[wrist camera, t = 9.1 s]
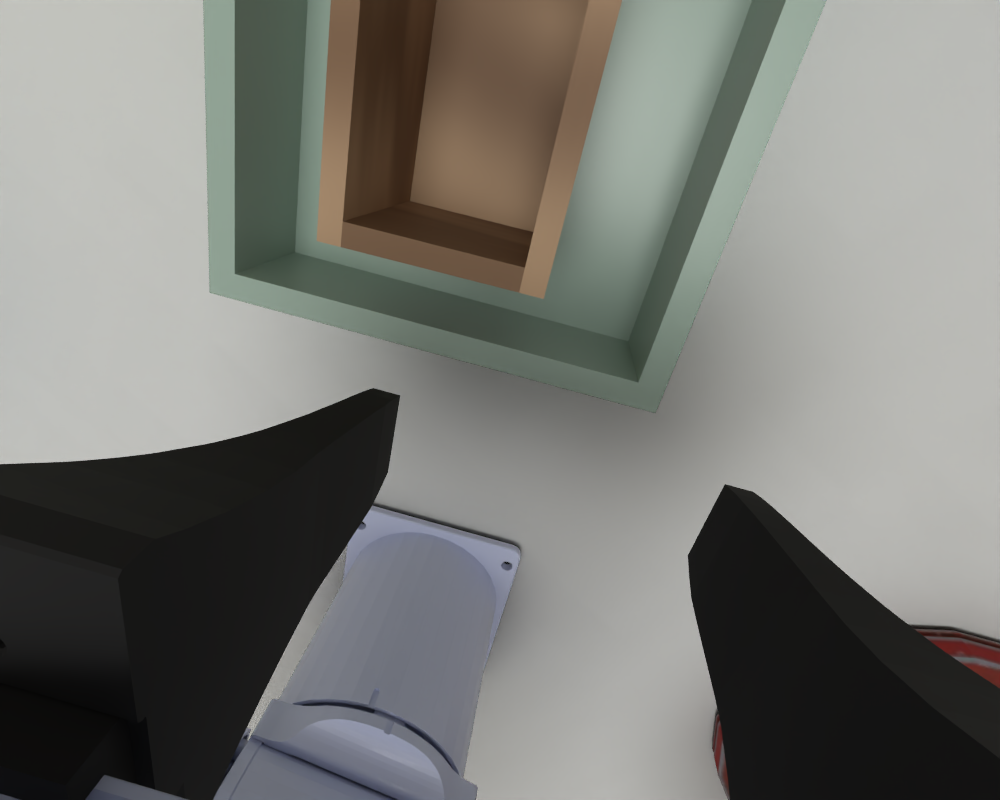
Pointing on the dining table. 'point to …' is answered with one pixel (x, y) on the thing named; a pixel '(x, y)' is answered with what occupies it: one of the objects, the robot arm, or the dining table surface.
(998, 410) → the dining table surface
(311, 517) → the robot arm
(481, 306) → the sage crate
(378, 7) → the walnut crate
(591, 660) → the dining table surface
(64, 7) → the dining table surface
